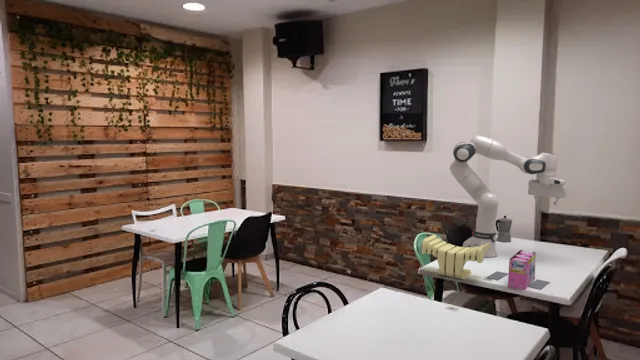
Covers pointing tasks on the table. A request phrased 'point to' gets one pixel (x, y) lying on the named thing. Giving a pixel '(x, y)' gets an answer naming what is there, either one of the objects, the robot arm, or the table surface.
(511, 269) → the gum box
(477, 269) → the table surface
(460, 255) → the slatted curved stool
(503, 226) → the coffeepot
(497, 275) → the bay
